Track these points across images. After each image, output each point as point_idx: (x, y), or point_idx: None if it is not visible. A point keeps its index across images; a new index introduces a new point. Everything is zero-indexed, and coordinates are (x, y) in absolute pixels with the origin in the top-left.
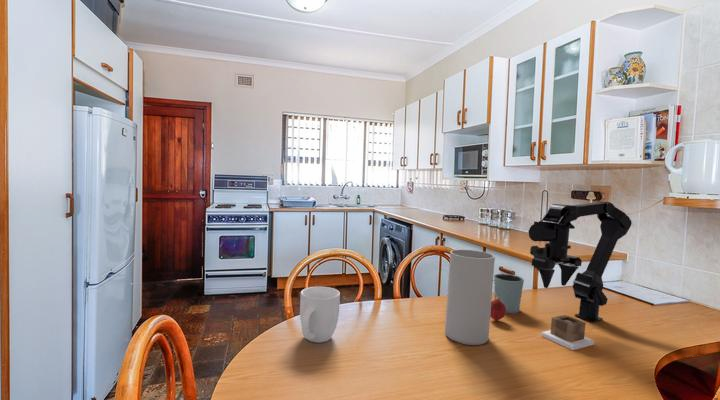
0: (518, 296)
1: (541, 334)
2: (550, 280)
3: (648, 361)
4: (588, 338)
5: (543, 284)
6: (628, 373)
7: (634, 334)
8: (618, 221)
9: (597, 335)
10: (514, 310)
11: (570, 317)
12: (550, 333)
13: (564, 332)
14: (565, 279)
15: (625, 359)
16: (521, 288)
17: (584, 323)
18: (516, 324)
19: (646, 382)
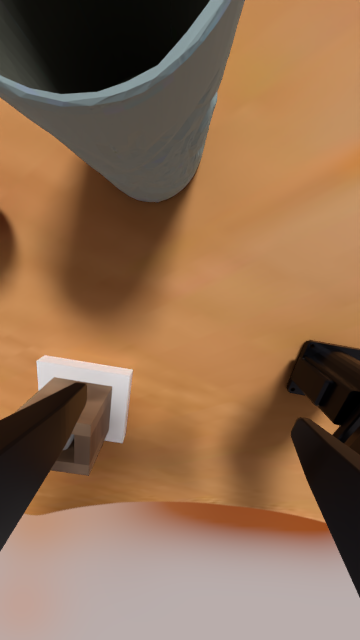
0: (124, 174)
1: (41, 357)
2: (18, 508)
3: (145, 497)
4: (122, 433)
5: (54, 394)
6: (60, 492)
7: (280, 459)
8: None
9: (192, 422)
10: (129, 195)
11: (85, 441)
12: (54, 377)
13: None
14: (330, 501)
15: (113, 479)
16: (136, 149)
17: (84, 472)
18: (43, 271)
19: (58, 508)
